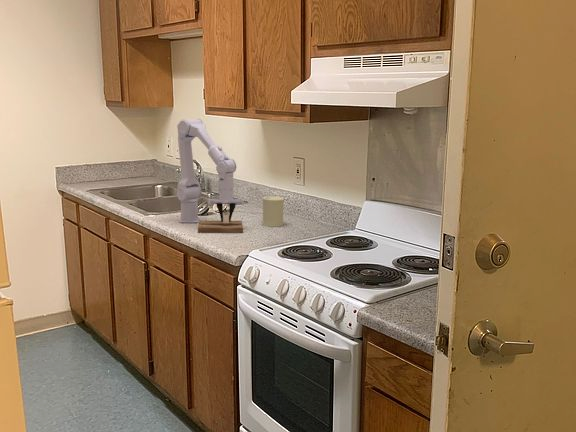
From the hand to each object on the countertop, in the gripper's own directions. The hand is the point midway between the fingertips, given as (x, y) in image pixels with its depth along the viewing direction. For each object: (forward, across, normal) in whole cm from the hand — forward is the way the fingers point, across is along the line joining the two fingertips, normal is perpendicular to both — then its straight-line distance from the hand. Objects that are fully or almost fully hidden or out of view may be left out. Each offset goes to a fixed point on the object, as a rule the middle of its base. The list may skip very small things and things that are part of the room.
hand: (225, 221), depth 246 cm
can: (+3, +20, +9) cm, 22 cm away
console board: (+3, -2, 0) cm, 4 cm away
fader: (+1, 0, 0) cm, 1 cm away
